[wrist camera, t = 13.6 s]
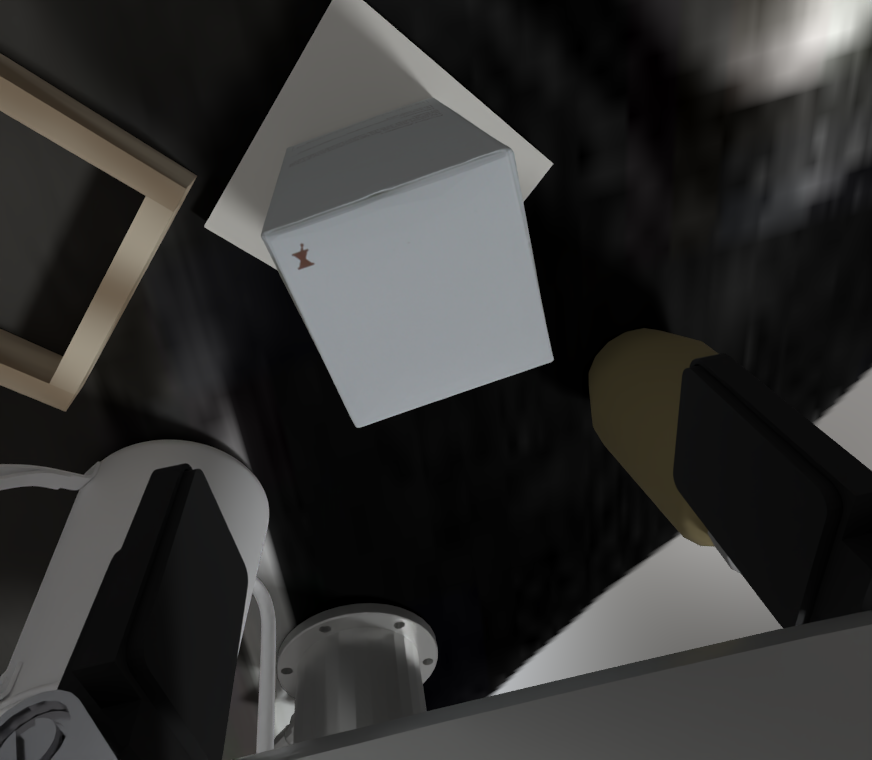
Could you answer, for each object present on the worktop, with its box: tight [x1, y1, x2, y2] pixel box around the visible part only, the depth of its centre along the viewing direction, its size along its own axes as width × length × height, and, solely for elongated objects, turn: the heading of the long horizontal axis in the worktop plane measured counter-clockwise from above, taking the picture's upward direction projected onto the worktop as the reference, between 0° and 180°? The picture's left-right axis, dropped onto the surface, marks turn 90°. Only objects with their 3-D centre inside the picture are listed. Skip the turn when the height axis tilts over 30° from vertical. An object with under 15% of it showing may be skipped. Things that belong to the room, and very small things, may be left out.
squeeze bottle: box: [589, 328, 740, 573], centre depth 29 cm, size 8×8×18 cm
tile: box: [204, 0, 553, 269], centre depth 28 cm, size 12×12×1 cm
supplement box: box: [261, 97, 554, 428], centre depth 23 cm, size 7×7×13 cm
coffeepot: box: [0, 440, 276, 754], centre depth 29 cm, size 11×25×19 cm, turn 40°
